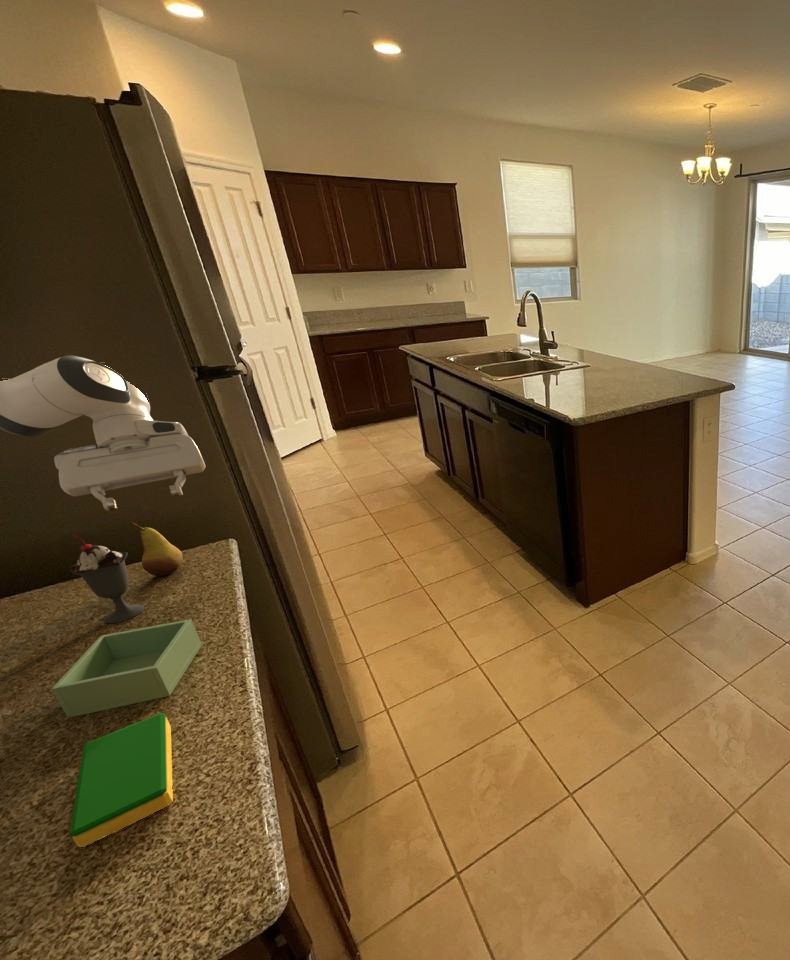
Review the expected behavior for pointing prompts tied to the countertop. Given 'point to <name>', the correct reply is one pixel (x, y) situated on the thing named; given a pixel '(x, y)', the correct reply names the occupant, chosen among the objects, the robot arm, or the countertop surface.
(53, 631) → the countertop surface
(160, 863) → the countertop surface
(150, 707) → the countertop surface
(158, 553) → the fruit
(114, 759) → the dish sponge
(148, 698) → the bin
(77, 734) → the countertop surface
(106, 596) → the sundae
